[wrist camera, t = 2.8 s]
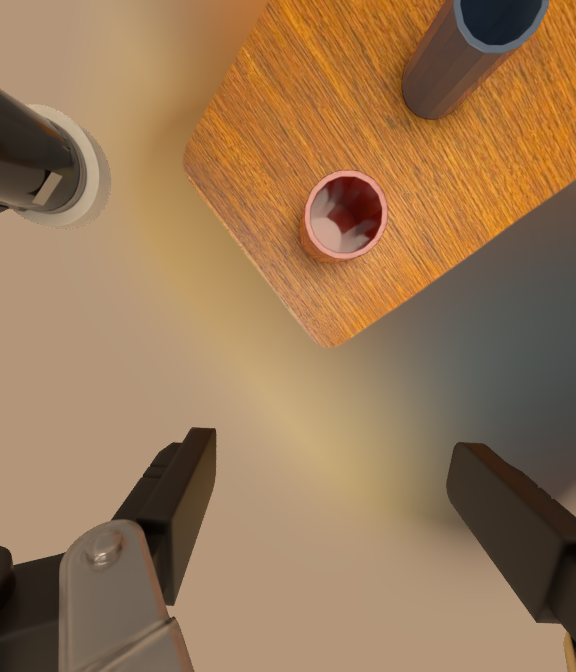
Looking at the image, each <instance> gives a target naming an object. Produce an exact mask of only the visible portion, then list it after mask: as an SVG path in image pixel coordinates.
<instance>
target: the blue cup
mask: <svg viewBox="0 0 576 672" xmlns="http://www.w3.org/2000/svg"><path fill="white" fill-rule="evenodd" d="M548 4H549V0H443V1H442V2H441V4H440V6H439V8H438V9H437V11H436V13H435V14H434V16H433V18H432V20H431V21H430V23H429V25H428V27H427V28H426V30H425V32H424V33H423V35H422V37H421V39H420V40H419V42H418V44H417V46H416V47H415V49H414V51H413V52H412V54H411V56H410V59H409V60H408V62H407V64H406V67H405V69H404V73H403V78H402V91H403V96H404V99H405V101H406V104H407V105H408V107H409V108H410V109H411V111H412V112H414V113H415V114H416V115H418V116H420V117H422V118H425V119H438V118H441V117H444V116H446V115H448V114H449V113H451V112H452V111H454V110H455V109H456V108H457V107H458V106H459V105H460V104H461V103H462V102H463V101H464V100H465V99H466V98H467V97H468V96H469V95H470V94H471V93H472V92H473V91H474V90H475V89H476V88H478V87H479V86H480V85H481V84H482V83H483V82H484V81H485V80H486V79H487V78H488V77H489V76H490V75H491V74H492V73H493V72H494V71H495V70H496V69H497V68H498V67H499V66H500V65H501V64H503V63H504V62H505V61H506V60H507V59H508V58H509V57H510V56H511V55H512V54H513V53H514V52H515V51H516V50H517V49H518V48H519V47H520V46H521V45H522V44H523V43H524V42H525V41H526V40H527V39H528V38H529V37H530V36H531V35H532V34H534V33H535V32H536V30H537V29H538V27H539V25H540V23H541V21H542V19H543V17H544V15H545V13H546V11H547V9H548Z"/></svg>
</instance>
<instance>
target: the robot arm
mask: <svg viewBox="0 0 576 672" xmlns="http://www.w3.org/2000/svg"><path fill="white" fill-rule="evenodd" d="M86 182H87V168H86V163H85V159H84V156H83V154H82V151H81V149H80V147H79V146H78V144H77V143H76V141H75V140H74V138H73V137H72V136H71V135H70V134H69V133H68V132H67V131H66V130H65V129H63V128H62V127H60V126H59V125H57V124H56V123H54V122H53V121H51V120H49V119H47V118H45V117H43V116H42V115H40V114H39V113H37V112H35V111H34V110H32V109H31V108H29V107H28V106H26V105H25V104H23V103H22V102H20V101H19V100H17V99H15V98H14V97H12V96H11V95H9V94H8V93H6V92H4V91H3V90H1V89H0V212H3V211H5V210H7V209H13V210H18V211H22V212H25V211H27V210H32V211H35V212H39V213H44V214H57V213H62V212H64V211H67V210H69V209H70V208H72V207H73V206H74V205H75V204H76V203H77V202H78V201H79V200H80V198H81V197H82V195H83V193H84V190H85V187H86ZM215 476H216V429H215V428H195V427H192V428H191V429H190V431H189V432H188V434H187V436H186V438H185V439H184V441H183V442H182V443H175V442H173V443H171V444H170V445H168V446H167V447H166V448H164V449H163V450H161V451H160V452H159V453H158V455H157V456H156V457H155V459H154V460H153V462H152V463H151V465H150V467H148V469H147V470H146V471H145V473H144V474H143V477H142V478H140V480H139V481H138V483H137V484H136V486H135V487H134V488H133V490H132V491H131V493H130V494H129V496H128V497H127V498H126V500H125V501H124V502H123V504H122V505H121V507H120V508H119V510H118V511H117V512H116V514H115V515H114V517H113V518H112V519H111V521H109V522H106V523H103V524H100V525H98V526H96V527H94V528H92V529H90V530H89V531H87V532H86V533H84V534H83V535H82V536H80V537H79V538H78V539H77V540H76V541H75V542H74V543H73V544H72V545H71V546H70V547H69V548H68V550H67V551H66V552H65V553H62V554H58V555H55V556H50V557H46V558H42V559H38V560H34V561H29V562H25V563H21V564H17V565H13V561H12V556H11V553H10V551H9V550H8V549H6V548H5V547H1V546H0V672H194V669H193V666H192V663H191V660H190V657H189V653H188V650H187V647H186V644H185V641H184V638H183V635H182V632H181V629H180V626H179V624H178V622H177V620H176V618H175V617H172V618H170V617H169V615H168V612H167V609H166V605H169V606H170V605H171V606H174V604H175V601H176V598H177V595H178V592H179V589H180V586H181V583H182V580H183V577H184V574H185V571H186V568H187V565H188V562H189V559H190V556H191V554H192V550H193V548H194V545H195V542H196V539H197V536H198V533H199V530H200V527H201V524H202V521H203V518H204V515H205V512H206V509H207V506H208V503H209V500H210V497H211V494H212V491H213V487H214V483H215ZM446 487H447V494H448V497H449V499H450V502H451V503H452V505H453V506H454V508H455V509H456V511H457V512H458V513H459V515H460V516H461V518H462V519H463V520H464V522H465V523H466V525H467V526H468V527H469V529H470V530H471V532H472V533H473V534H474V536H475V537H476V538H477V540H478V541H479V543H480V544H481V546H482V547H483V548H484V550H485V551H486V553H487V554H488V555H489V557H490V558H491V560H492V561H493V562H494V564H495V565H496V567H497V568H498V569H499V571H500V572H501V573H502V575H503V576H504V578H505V579H506V581H507V582H508V583H509V585H510V586H511V588H512V589H513V590H514V592H515V593H516V595H517V596H518V597H519V599H520V600H521V602H522V603H523V604H524V605H525V607H526V609H527V610H528V611H529V613H530V614H531V615H532V617H533V618H534V620H535V621H536V622H537V623H557V624H562V625H563V627H564V628H565V629H566V631H567V633H566V635H565V638H564V651H565V657H566V663H567V669H568V672H576V517H575V516H574V515H573V514H571V513H570V512H569V511H568V510H567V509H565V508H564V507H563V506H562V505H561V504H559V503H558V502H557V501H556V500H555V499H551V496H550V495H549V494H547V493H546V492H545V491H544V490H543V489H542V488H538V485H537V484H536V483H535V482H533V481H532V480H531V479H530V478H529V477H528V476H526V475H525V474H524V473H523V472H522V471H520V470H518V469H516V468H515V467H513V466H511V465H509V464H508V463H506V462H505V461H504V460H503V459H501V458H500V457H499V456H498V455H497V454H496V453H495V452H493V451H492V450H491V449H490V448H489V447H488V446H486V445H485V444H482V443H464V442H459V443H457V444H456V445H455V447H454V450H453V454H452V459H451V464H450V468H449V473H448V478H447V483H446Z"/></svg>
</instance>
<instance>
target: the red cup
mask: <svg viewBox="0 0 576 672" xmlns="http://www.w3.org/2000/svg"><path fill="white" fill-rule="evenodd" d="M387 217H388V205H387V202H386V198H385V195H384V192H383V190H382V189H381V188H380V186H379V185H378V184H377V183H376V181H375V180H374V179H373V178H372V177H370V176H368V175H366V174H364V173H362V172H360V171H357V170H339V171H336V172H334V173H331V174H329V175H327V176H325V177H323V178H322V179H321V180H320V181H319V182H318V183H317V184H316V185H315V186H314V187H313V189H312V190H311V192H310V194H309V197H308V199H307V202H306V204H305V207H304V210H303V214H302V217H301V220H300V224H299V237H300V241H301V244H302V246H303V248H304V250H305V251H306V252H307V254H308V255H310V256H311V257H312V258H314V259H315V260H318V261H320V262H326V263H334V262H339V261H345V260H350V259H353V258H356V257H358V256H361V255H364V254H366V253H367V252H368V251H370V250H371V249H372V248H373V247H374V246H375V245H376V244H377V243H378V242H379V241H380V238H381V236H382V234H383V232H384V230H385V228H386V225H387Z"/></svg>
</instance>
